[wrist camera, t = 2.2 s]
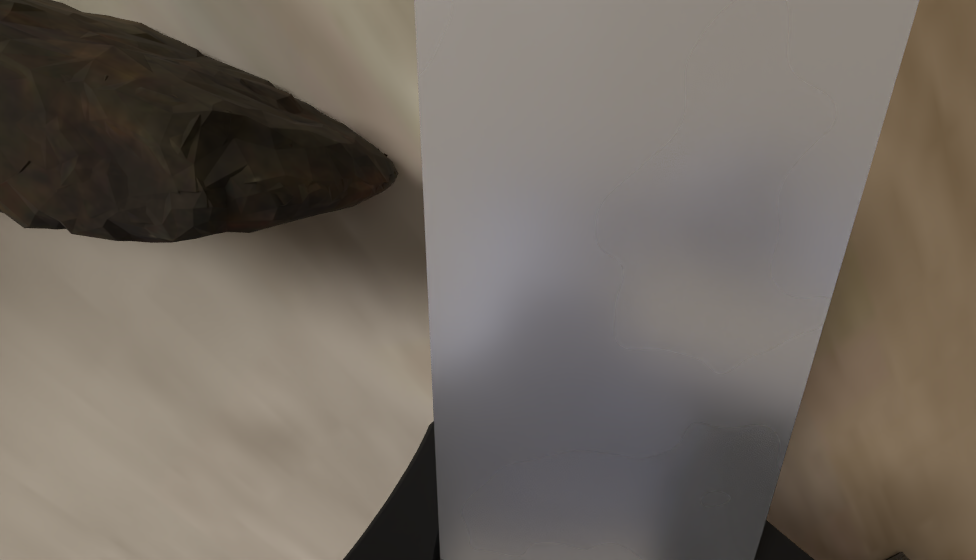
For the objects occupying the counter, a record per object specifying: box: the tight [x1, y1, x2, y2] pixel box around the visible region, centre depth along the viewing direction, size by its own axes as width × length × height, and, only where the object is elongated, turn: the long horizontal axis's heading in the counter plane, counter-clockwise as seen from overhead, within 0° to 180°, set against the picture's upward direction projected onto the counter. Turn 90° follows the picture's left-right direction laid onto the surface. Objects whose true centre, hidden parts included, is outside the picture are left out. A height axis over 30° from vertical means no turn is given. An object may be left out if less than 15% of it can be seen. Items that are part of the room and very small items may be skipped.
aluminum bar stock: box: [414, 0, 919, 560], centre depth 9 cm, size 4×16×6 cm, turn 0°
